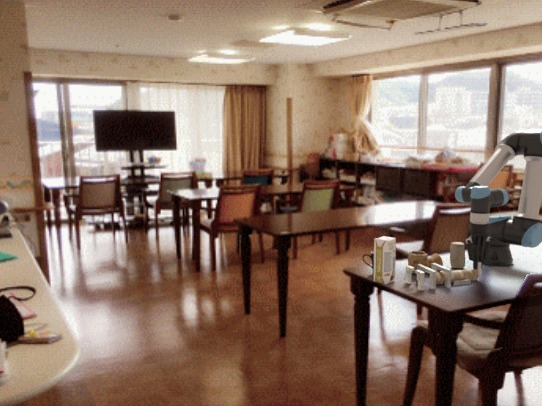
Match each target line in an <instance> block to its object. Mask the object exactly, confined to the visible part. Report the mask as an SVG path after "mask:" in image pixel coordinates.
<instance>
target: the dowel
mask: <svg viewBox="0 0 542 406" xmlns="http://www.w3.org/2000/svg"><path fill="white" fill-rule="evenodd" d="M464 279H470V280H471V282H475V281H478V280H479V277H478V272H477V270H475V269H473V268H469V269H457V270H451V284H452V281H455V280H464ZM444 283H445V272H443V271H437V272H436V286H437V285H444Z"/></svg>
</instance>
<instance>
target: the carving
mask: <svg viewBox="0 0 542 406" xmlns="http://www.w3.org/2000/svg"><path fill="white" fill-rule="evenodd" d="M449 247H450V248H449V263H450V266H451V268H453V269H462V268H465V266H466V249H465V242H462V241H452V242H451V243H450V246H449Z"/></svg>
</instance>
